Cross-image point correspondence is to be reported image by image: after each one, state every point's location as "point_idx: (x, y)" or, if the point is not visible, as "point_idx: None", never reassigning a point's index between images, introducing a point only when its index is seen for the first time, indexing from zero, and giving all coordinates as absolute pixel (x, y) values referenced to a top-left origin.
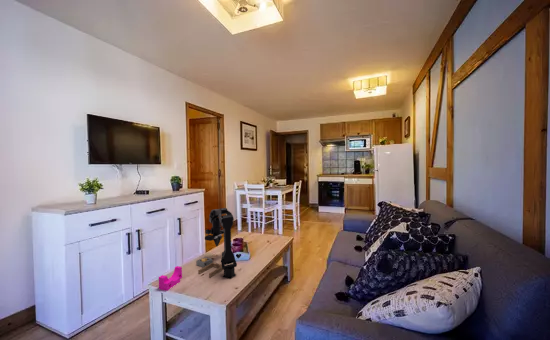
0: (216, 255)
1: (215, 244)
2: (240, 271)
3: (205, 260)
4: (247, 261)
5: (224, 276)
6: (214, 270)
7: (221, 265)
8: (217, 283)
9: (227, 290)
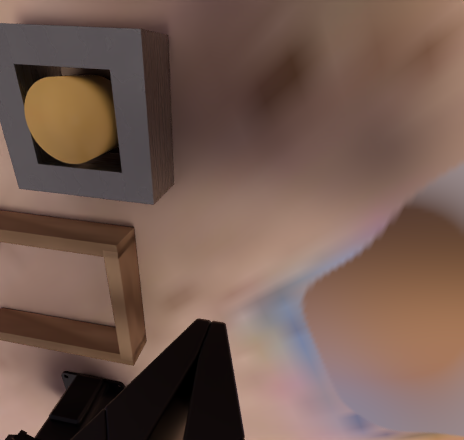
0: (416, 56)
1: (165, 352)
2: None
3: (61, 158)
4: (336, 431)
5: (70, 381)
6: (29, 338)
7: (119, 345)
8: (3, 376)
9: (6, 429)
